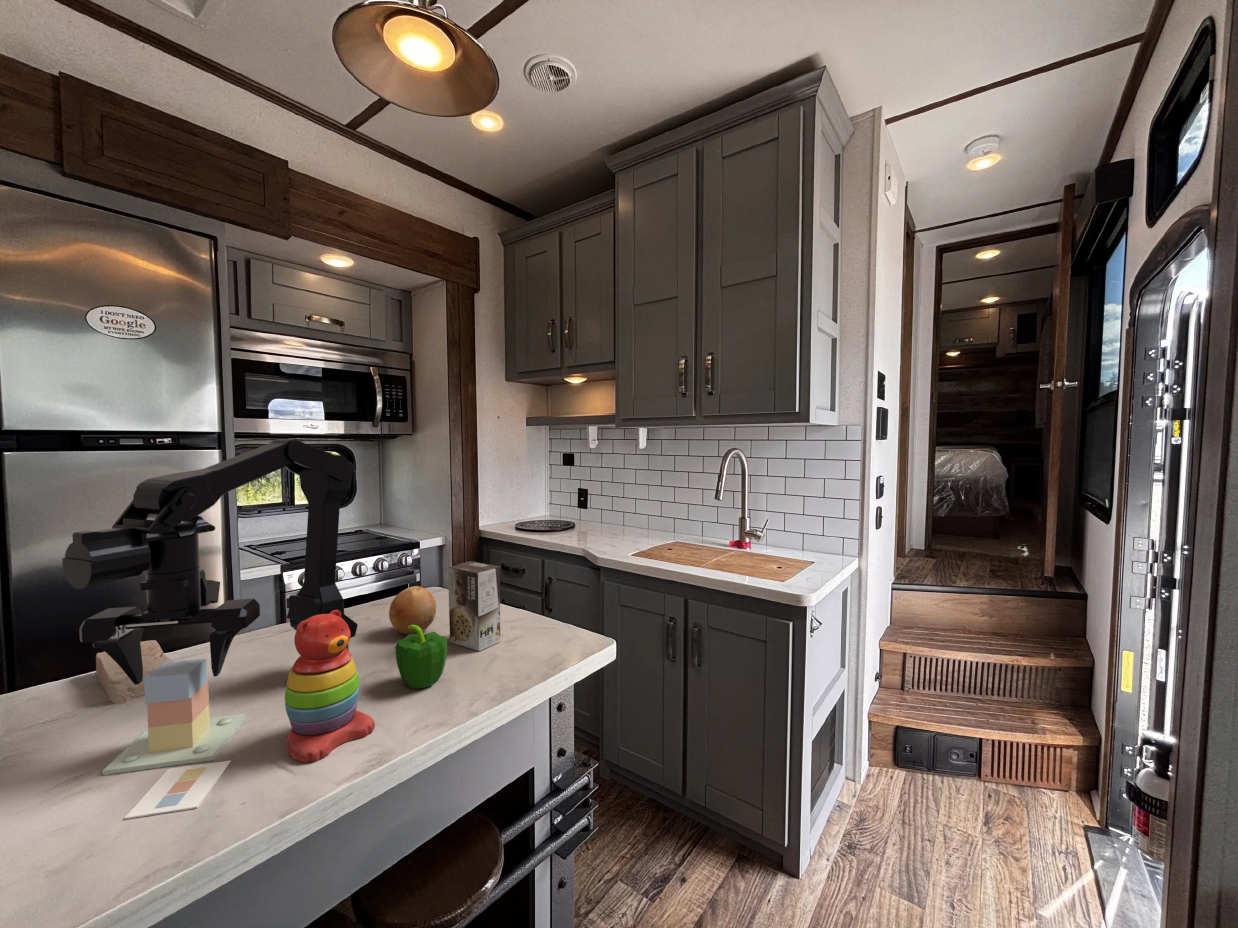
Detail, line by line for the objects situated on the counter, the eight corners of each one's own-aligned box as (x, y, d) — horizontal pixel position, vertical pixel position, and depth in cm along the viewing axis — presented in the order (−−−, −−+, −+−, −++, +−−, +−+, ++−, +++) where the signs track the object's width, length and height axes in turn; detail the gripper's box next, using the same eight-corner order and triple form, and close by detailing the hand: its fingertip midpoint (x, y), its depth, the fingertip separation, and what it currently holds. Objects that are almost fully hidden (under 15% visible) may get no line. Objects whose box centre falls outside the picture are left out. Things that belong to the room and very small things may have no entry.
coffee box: (502, 641, 112) (501, 565, 111) (478, 652, 106) (477, 572, 105) (471, 632, 116) (471, 559, 115) (447, 642, 111) (447, 566, 110)
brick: (178, 688, 91) (177, 661, 91) (111, 707, 85) (110, 678, 84) (156, 662, 102) (155, 637, 101) (95, 677, 95) (93, 651, 95)
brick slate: (207, 681, 77) (206, 658, 77) (189, 698, 72) (188, 673, 72) (166, 685, 76) (165, 661, 75) (145, 703, 71) (143, 677, 71)
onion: (404, 622, 122) (403, 580, 121) (445, 625, 121) (444, 582, 120) (379, 639, 112) (378, 592, 112) (423, 642, 111) (422, 595, 110)
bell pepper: (456, 681, 94) (455, 626, 93) (410, 698, 88) (409, 639, 87) (432, 667, 99) (431, 614, 99) (388, 682, 93) (387, 626, 93)
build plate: (246, 717, 82) (245, 691, 81) (212, 760, 71) (211, 730, 71) (152, 728, 78) (151, 701, 78) (102, 775, 68) (101, 744, 68)
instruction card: (231, 761, 71) (231, 759, 71) (197, 807, 62) (197, 805, 62) (168, 770, 69) (168, 768, 69) (124, 819, 60) (124, 816, 60)
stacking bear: (306, 767, 70) (302, 634, 68) (267, 743, 75) (263, 619, 74) (381, 728, 79) (378, 611, 78) (342, 709, 84) (339, 599, 83)
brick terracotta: (209, 703, 78) (208, 680, 77) (192, 721, 73) (191, 697, 73) (167, 708, 76) (166, 684, 76) (148, 727, 71) (147, 702, 71)
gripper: (271, 552, 83) (275, 649, 84) (127, 559, 78) (132, 662, 79) (242, 570, 73) (246, 681, 74) (73, 579, 68) (80, 698, 69)
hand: (178, 679), depth 74 cm, fingers open, 9 cm apart
